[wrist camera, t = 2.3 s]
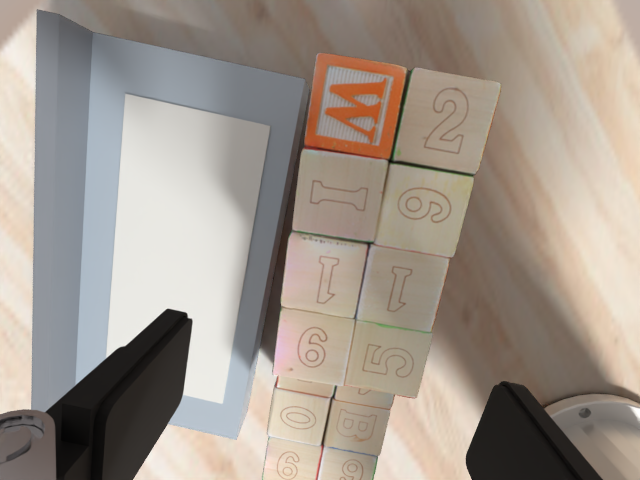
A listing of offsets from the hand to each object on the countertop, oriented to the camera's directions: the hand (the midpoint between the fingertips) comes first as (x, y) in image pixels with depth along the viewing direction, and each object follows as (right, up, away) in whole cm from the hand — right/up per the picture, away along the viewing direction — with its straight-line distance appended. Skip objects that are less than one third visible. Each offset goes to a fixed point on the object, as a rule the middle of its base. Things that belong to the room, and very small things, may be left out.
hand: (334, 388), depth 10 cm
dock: (-11, +4, +15) cm, 19 cm away
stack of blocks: (+2, +3, +15) cm, 16 cm away
